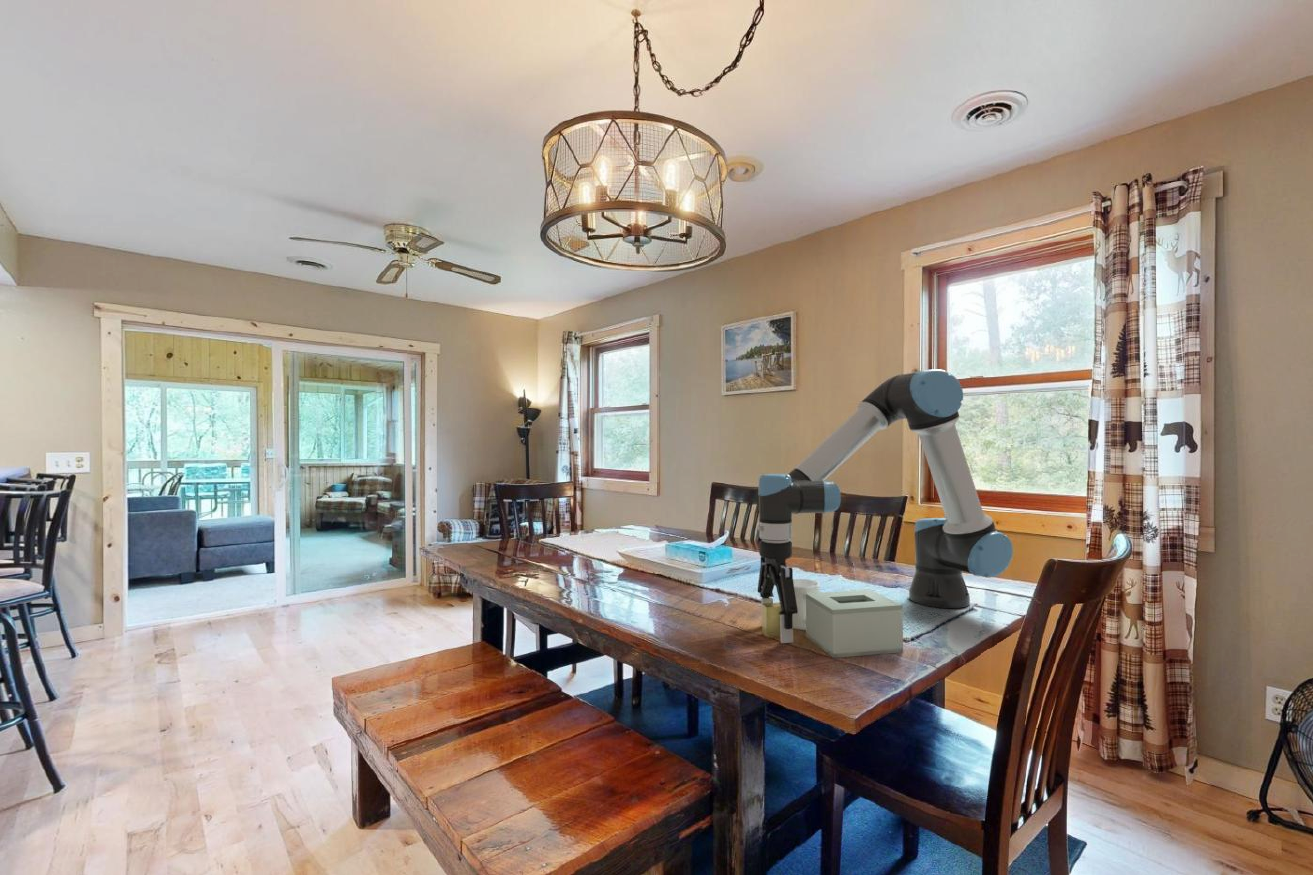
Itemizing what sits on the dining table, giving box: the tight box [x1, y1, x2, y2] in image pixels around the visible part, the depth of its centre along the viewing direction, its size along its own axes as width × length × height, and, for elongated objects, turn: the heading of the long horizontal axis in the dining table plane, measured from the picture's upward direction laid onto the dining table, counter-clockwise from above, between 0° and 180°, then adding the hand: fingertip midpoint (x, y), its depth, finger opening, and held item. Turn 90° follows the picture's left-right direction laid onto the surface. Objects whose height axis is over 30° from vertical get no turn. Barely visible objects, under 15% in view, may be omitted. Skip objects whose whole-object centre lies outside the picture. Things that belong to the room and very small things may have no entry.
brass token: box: [761, 601, 782, 638], centre depth 133 cm, size 6×3×7 cm, turn 100°
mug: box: [793, 578, 820, 631], centre depth 137 cm, size 12×8×10 cm
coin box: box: [805, 588, 904, 659], centre depth 126 cm, size 16×13×10 cm
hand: (776, 633), depth 133 cm, fingers open, 11 cm apart
